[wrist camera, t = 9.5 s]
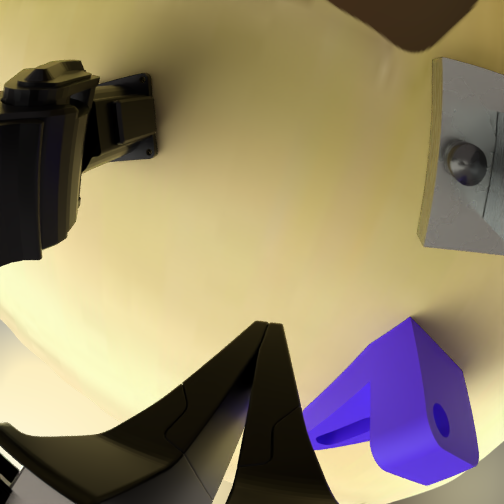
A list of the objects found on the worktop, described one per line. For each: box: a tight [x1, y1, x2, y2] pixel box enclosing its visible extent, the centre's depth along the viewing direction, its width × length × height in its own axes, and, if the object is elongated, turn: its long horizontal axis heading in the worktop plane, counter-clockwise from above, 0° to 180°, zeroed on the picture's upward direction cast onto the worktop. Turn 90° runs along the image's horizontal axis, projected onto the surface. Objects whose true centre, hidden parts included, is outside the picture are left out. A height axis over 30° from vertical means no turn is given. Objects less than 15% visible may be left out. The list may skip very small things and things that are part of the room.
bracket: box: [303, 317, 479, 485], centre depth 23 cm, size 18×11×12 cm, turn 143°
